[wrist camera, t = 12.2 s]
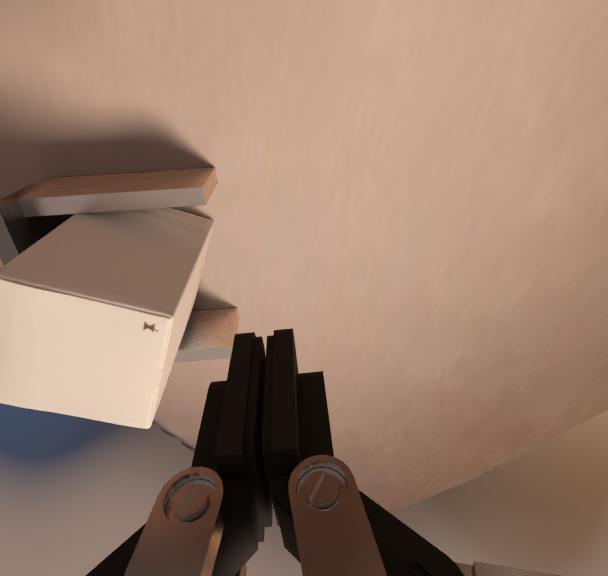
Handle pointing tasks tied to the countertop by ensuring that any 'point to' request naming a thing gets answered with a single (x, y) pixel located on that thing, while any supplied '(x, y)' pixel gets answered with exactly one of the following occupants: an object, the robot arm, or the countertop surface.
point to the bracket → (117, 197)
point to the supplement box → (100, 313)
